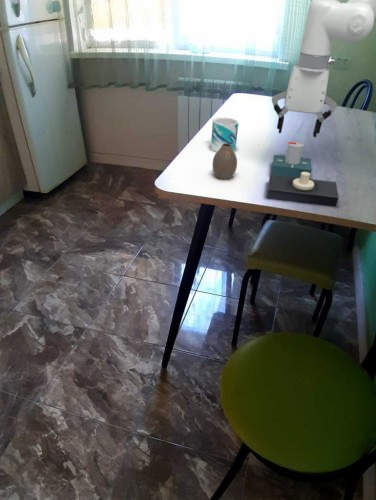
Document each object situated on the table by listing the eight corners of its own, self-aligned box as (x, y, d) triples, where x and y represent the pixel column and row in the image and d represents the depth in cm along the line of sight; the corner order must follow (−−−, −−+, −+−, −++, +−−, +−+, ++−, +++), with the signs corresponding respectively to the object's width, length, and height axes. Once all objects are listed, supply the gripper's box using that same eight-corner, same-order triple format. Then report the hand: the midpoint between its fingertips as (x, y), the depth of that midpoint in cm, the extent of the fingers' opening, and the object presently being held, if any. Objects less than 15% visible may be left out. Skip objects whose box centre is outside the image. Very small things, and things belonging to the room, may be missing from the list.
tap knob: (299, 159, 122) (304, 141, 118) (300, 165, 119) (304, 146, 115) (284, 158, 122) (288, 139, 119) (284, 163, 119) (288, 144, 116)
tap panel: (308, 168, 125) (311, 157, 123) (309, 180, 119) (311, 169, 117) (272, 164, 126) (274, 153, 124) (271, 175, 120) (273, 165, 118)
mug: (208, 150, 133) (210, 123, 127) (214, 139, 141) (217, 112, 136) (233, 153, 132) (236, 125, 126) (238, 141, 140) (241, 115, 135)
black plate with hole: (333, 190, 114) (335, 181, 112) (335, 206, 107) (338, 197, 105) (268, 183, 116) (270, 174, 114) (266, 198, 109) (268, 189, 107)
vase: (214, 181, 115) (217, 149, 109) (209, 172, 120) (211, 140, 114) (238, 181, 116) (242, 149, 110) (232, 171, 121) (235, 140, 115)
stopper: (311, 190, 113) (316, 170, 109) (311, 199, 109) (317, 179, 105) (290, 187, 114) (295, 168, 110) (290, 196, 110) (295, 176, 106)
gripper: (346, 62, 105) (327, 133, 117) (279, 56, 107) (266, 126, 119) (349, 68, 100) (329, 141, 112) (278, 61, 102) (265, 134, 113)
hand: (297, 133), depth 115 cm, fingers open, 9 cm apart
